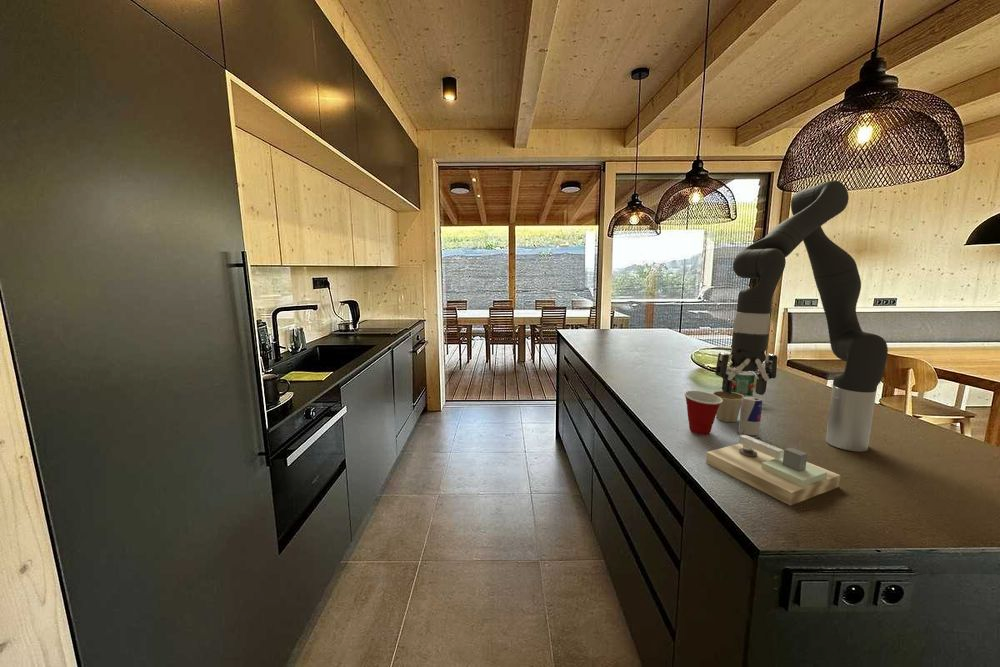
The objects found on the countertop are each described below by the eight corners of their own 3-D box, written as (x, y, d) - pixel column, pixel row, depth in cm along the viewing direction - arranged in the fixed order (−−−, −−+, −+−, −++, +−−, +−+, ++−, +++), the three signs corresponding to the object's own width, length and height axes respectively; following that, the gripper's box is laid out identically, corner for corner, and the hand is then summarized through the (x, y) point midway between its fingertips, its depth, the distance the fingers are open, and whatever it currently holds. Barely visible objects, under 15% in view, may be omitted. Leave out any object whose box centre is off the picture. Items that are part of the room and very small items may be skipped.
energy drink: (762, 439, 117) (765, 401, 115) (742, 438, 118) (745, 400, 116) (754, 432, 122) (758, 395, 121) (735, 431, 124) (738, 394, 122)
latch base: (751, 450, 111) (752, 438, 110) (838, 487, 91) (840, 472, 91) (705, 462, 104) (706, 449, 103) (790, 505, 84) (792, 490, 84)
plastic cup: (716, 442, 116) (720, 403, 114) (678, 433, 122) (680, 396, 121) (722, 430, 124) (725, 394, 122) (686, 422, 131) (688, 388, 129)
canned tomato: (757, 402, 150) (759, 375, 148) (736, 402, 150) (738, 375, 148) (744, 396, 158) (746, 369, 156) (724, 396, 158) (727, 369, 156)
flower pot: (712, 422, 131) (714, 397, 130) (709, 412, 140) (711, 389, 138) (744, 426, 128) (747, 400, 126) (739, 416, 136) (741, 392, 135)
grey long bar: (743, 446, 104) (745, 434, 104) (783, 463, 95) (784, 449, 95) (737, 448, 103) (738, 435, 103) (777, 465, 94) (778, 451, 94)
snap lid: (785, 461, 98) (787, 440, 97) (826, 478, 90) (829, 455, 89) (761, 468, 94) (763, 447, 94) (802, 486, 86) (805, 463, 85)
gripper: (767, 329, 101) (759, 390, 103) (714, 328, 100) (707, 389, 103) (790, 333, 94) (781, 398, 96) (732, 332, 93) (725, 398, 95)
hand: (743, 393), depth 99 cm, fingers open, 8 cm apart
